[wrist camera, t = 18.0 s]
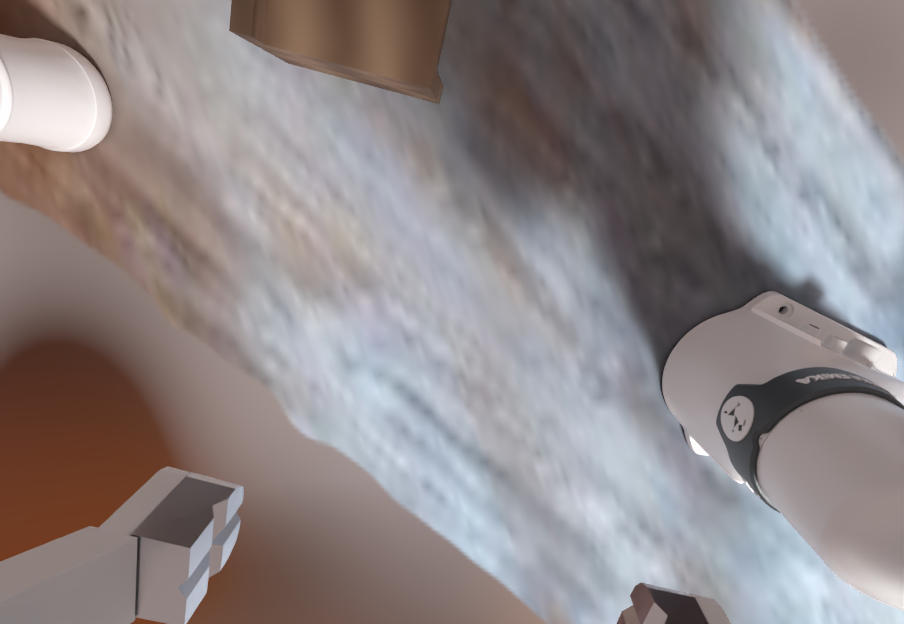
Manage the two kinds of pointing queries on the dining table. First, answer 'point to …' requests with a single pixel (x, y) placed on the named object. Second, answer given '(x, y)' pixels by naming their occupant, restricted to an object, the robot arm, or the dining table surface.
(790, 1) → the dining table surface
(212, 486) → the robot arm
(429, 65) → the walnut shelf
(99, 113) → the vodka
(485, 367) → the dining table surface
